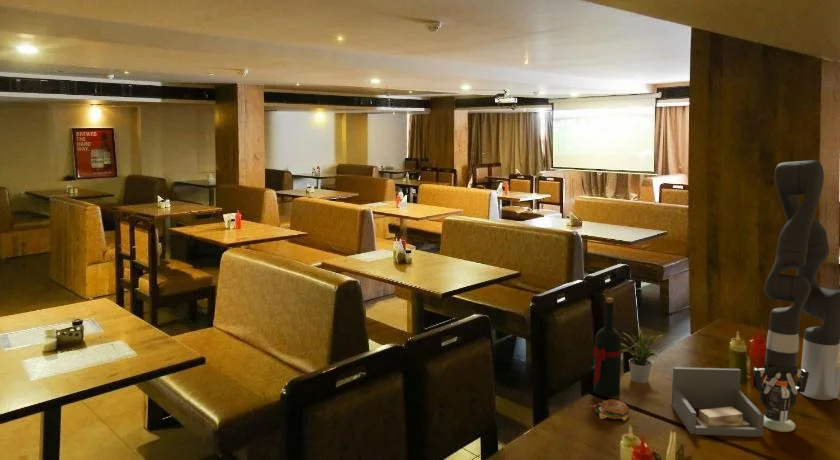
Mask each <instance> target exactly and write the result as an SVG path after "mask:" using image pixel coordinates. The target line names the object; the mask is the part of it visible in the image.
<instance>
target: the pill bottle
mask: <svg viewBox="0 0 840 460" xmlns="http://www.w3.org/2000/svg"><path fill="white" fill-rule="evenodd" d="M768 394H769V401H768V406H764V414H763V415H765V416H766V417H767V418H768V419H770V420H773V421H778V422H785V421H788V420H790V414H791V413H790V412H791V411H790V410H791V407H790V402H791V389H790V388H789V387H788V381H778V380H777V381H776V383H775V385H774V386H773V387H772V388H771V389H770V391H769V392H768Z"/></svg>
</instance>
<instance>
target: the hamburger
mask: <svg viewBox="0 0 840 460" xmlns="http://www.w3.org/2000/svg"><path fill="white" fill-rule="evenodd" d="M596 406H597V407H596ZM590 407H591V408H592V409H593V410H594V412H596V413H598V414H599V419H600V418H601V419H600V420H603V419H606V418H607V417H608V418H607V419H610V418H612V419H611V420H615V419H619V420H622V421H626V420H627V419H628V418H629V413H630V407H629V406H627V404H626V403H624V402H623V401H620V400H618V399H614V398H610V399H606V400H603V401H602V402H599V403H598V405H597V404H591V405H590V406H589V408H590Z"/></svg>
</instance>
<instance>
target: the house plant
mask: <svg viewBox="0 0 840 460" xmlns="http://www.w3.org/2000/svg"><path fill="white" fill-rule="evenodd" d="M623 334H624V335H626V337H628V338H629V339H630V341H631V344H632V347H633V348H631V347H630V346H628V345H626V344H625V343H622V342H621V347H622V348H623V349H621V352H628V353H629V354H630V355H631V357H632V358H630V359H628V366H629V374H630V380H631V381H632V382H634V383H637V384H646V383H648V381H649V377H650V373H651V370H652V365H653V364H652V361H651V360H649V358H650V357H653V356H654V357H656V359H657V354H656V353H655V352H656V350H655V349H654V348H653V349H652V347H653V346H652V345H653V344H654V343H655V342H656V341H657V340H658V339H659V338H660V337H662V336H664V334H659V335H657V336H654V335H652V336H649V337H648V338H647V335H645V336H644V334H643V332H642V330H641V329H639V333H638V339H637V337H635V336H631V335H629V334H628V333H624V332H623ZM651 338H652V339H651ZM622 339H624V340H626V341H627V339H626V338H624V337H622ZM650 339H651V340H650ZM649 340H650V342H649V344H648V346H647V343H648V341H649ZM658 343H659V341H657V342H656V344H658ZM646 346H647V347H646Z"/></svg>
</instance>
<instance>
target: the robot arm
mask: <svg viewBox="0 0 840 460" xmlns="http://www.w3.org/2000/svg"><path fill="white" fill-rule="evenodd" d="M824 174H825V172H824V168H823V166H822V163H821V162H820V161H818V160H799V161H786V162H785V161H784V162H781V163H778V164H777V165H776V167H775V170H774V184H775V187H776V191H777V194H778V197H779V201H780V203H781V207H782V210H783V214H784V218H785V221H786V222H785V224H784V226H783V227H782V229H781V230H780V233H779V235H778V238H777V239H778V240H777V245H776V246H777V247H776V255H775V260H774V263H773V265H772V268H771V270H770V272H769V274H768V276H767V278H766V279H765V282H764V287H763V289H764V290H763V291H764V293H765V295H766V297H767V298H768V299H771V300H775V301H785V302H791V303H793V304H791V305H790V306H786V307H776V308H773V309H771V311H770V312H769V325H768V331H767V336H766V346H765V357H764V359H765V360H764V362H765V363H764V366H763V367H761V368H757V367H752V369H751V370H752V372H751V373H752V383H753V384H752V385H753V386H752V387H753V388H754V389H755V390H756V391H758V392H760V398H759V400H760V402H761V404H762V405H763V406H764V407H765V406H768V401H769V394H768V392H769V391H770V389H771V388H772V387H773V386H774V385H775V383H776V381H777V380H778V381H788V387H789V388H790V389H791V402H790V408H793V407H794V406H795V405H796V404H797V403H796V402H797V395H798V394H799V393H800V394H801V395H803V396H805V397H806V398H810V399H813V400H820V401H831V400H834V399H838V398H839V389H840V367H839V355H840V290H836V289H830V288H827V287H822V286H820V284H819V283H818V276H817V275H818V272H819V270H820V268H821V267H822V266H823V264H824V263H825V261H826V260H827V258H828V256H829V253H830V246H829V241H828V236H827V231H826V229H825V227H824V226H823V225H822V223H821V222H820V221H819V220H818V219H816V217H815V215H816V212H817V209H818V205H819V202H820V198H821V194H822V190H823V187H824V182H825V181H824V180H825V178H824V177H825V175H824ZM798 195H803V198H802V202H801V201H800V199H799V197H798ZM791 269H795V271H796V275H792V274H783V273H784V272H785V271H786V270H791ZM803 313H804V314H806V315H807V316H810V317H814V318H818V319H822V320H823V323H822V326H819V325H818V326H810V327H807V328H805V330H804V332H803V341H802V354H801V364H800V368H797V366H798V360H799V359H798V358H799V348H800V335H799V333H800V325H801V323H800V322H801V316H802V314H803ZM764 374H765V377H764V378H763V381H762V377H763V375H764ZM795 376H797V379H796V384H795V382H794V378H795Z"/></svg>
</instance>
